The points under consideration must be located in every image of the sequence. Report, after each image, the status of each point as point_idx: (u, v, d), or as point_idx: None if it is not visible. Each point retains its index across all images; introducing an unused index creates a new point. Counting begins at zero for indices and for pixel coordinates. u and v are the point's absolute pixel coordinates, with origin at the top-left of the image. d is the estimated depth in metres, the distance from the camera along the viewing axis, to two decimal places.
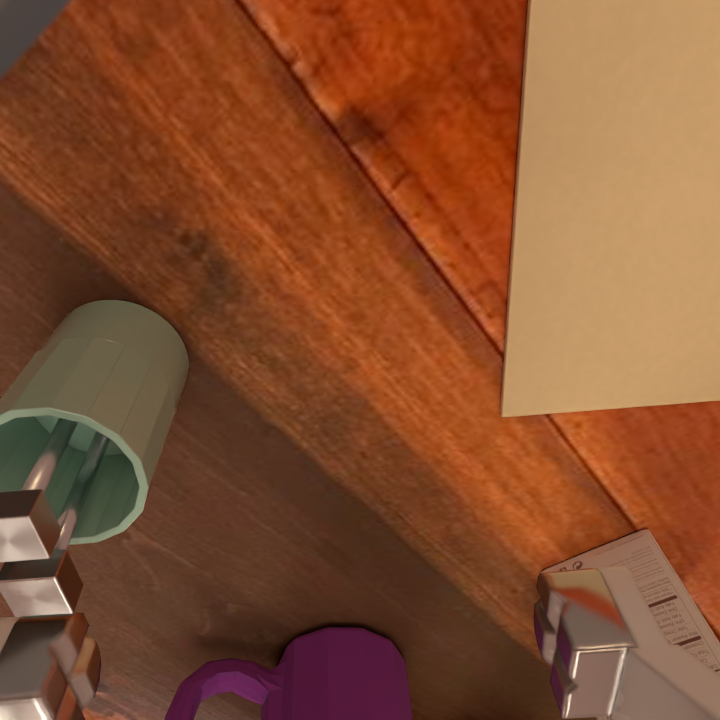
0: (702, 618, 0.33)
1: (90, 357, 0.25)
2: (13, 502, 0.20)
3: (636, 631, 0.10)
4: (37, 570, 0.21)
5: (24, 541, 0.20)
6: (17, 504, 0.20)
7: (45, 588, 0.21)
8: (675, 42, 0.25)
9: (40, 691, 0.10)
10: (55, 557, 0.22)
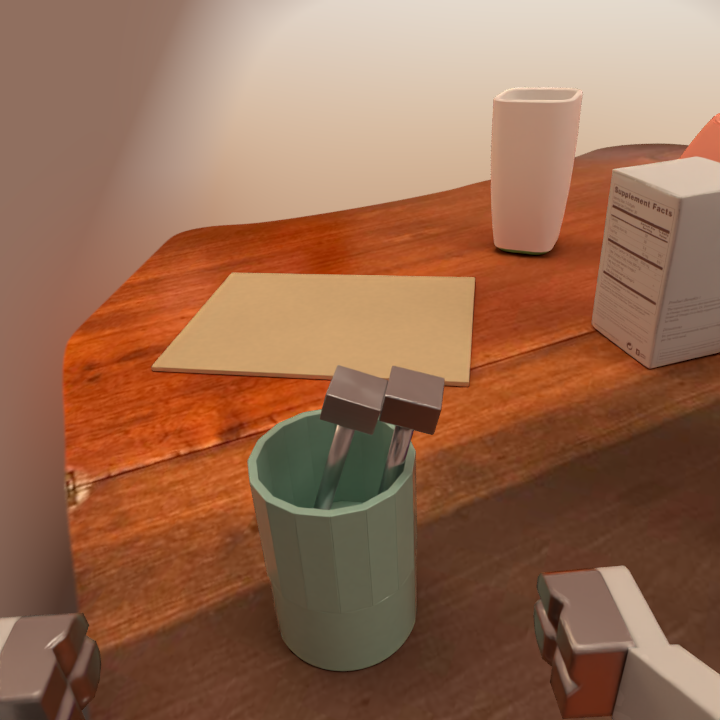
0: (602, 247, 0.48)
1: None
2: None
3: (636, 631, 0.10)
4: None
5: (362, 380, 0.23)
6: None
7: (404, 374, 0.23)
8: (255, 332, 0.53)
9: (40, 691, 0.10)
10: None
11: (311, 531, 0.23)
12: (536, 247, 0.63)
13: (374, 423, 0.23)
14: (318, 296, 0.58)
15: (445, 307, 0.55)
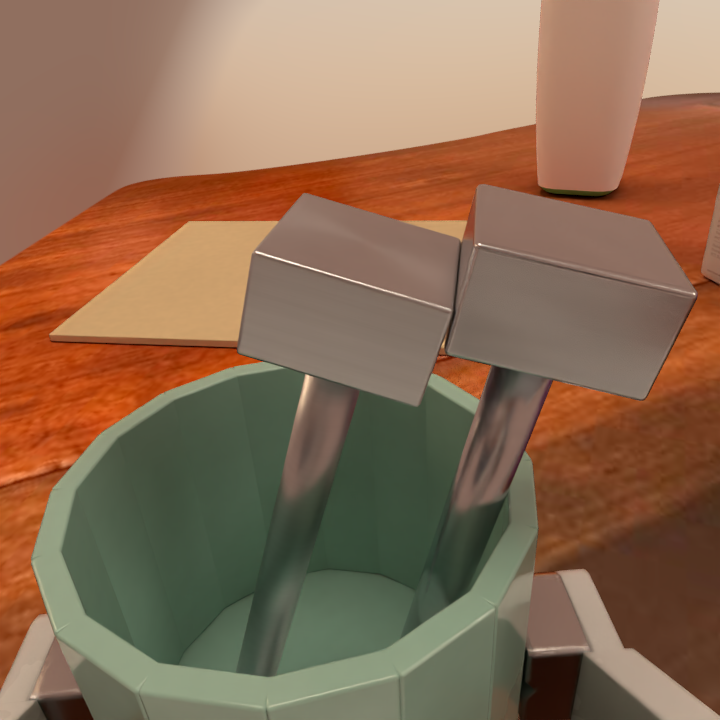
0: None
1: None
2: None
3: (591, 635, 0.10)
4: (468, 230, 0.07)
5: (382, 230, 0.07)
6: None
7: (523, 203, 0.07)
8: (209, 289, 0.36)
9: None
10: None
11: None
12: (597, 184, 0.47)
13: (428, 362, 0.06)
14: None
15: None
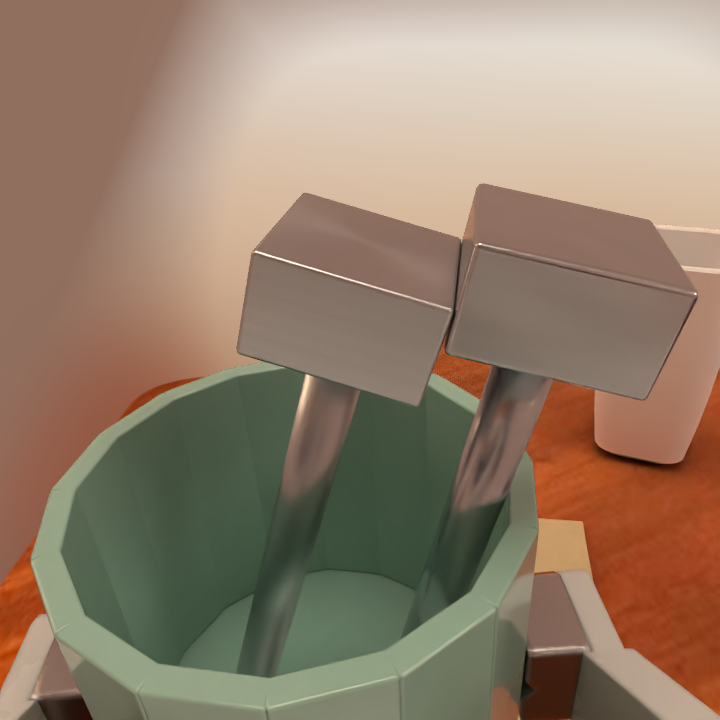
0: None
1: None
2: None
3: (592, 634, 0.10)
4: (468, 229, 0.07)
5: (383, 230, 0.07)
6: None
7: (523, 202, 0.07)
8: None
9: None
10: None
11: None
12: (664, 457, 0.43)
13: (428, 362, 0.06)
14: None
15: None
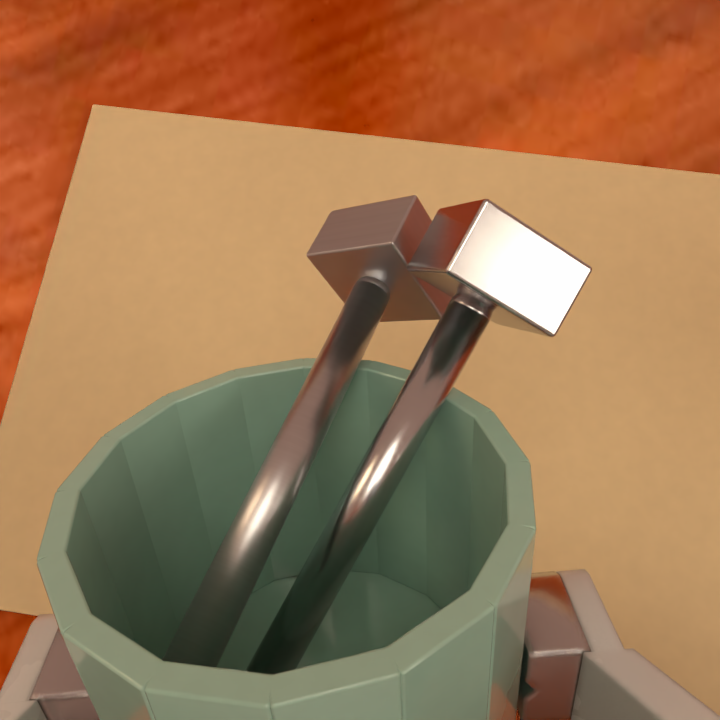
0: None
1: None
2: None
3: (592, 635, 0.10)
4: None
5: None
6: None
7: None
8: None
9: None
10: None
11: None
12: None
13: (401, 219, 0.11)
14: None
15: (667, 337, 0.21)
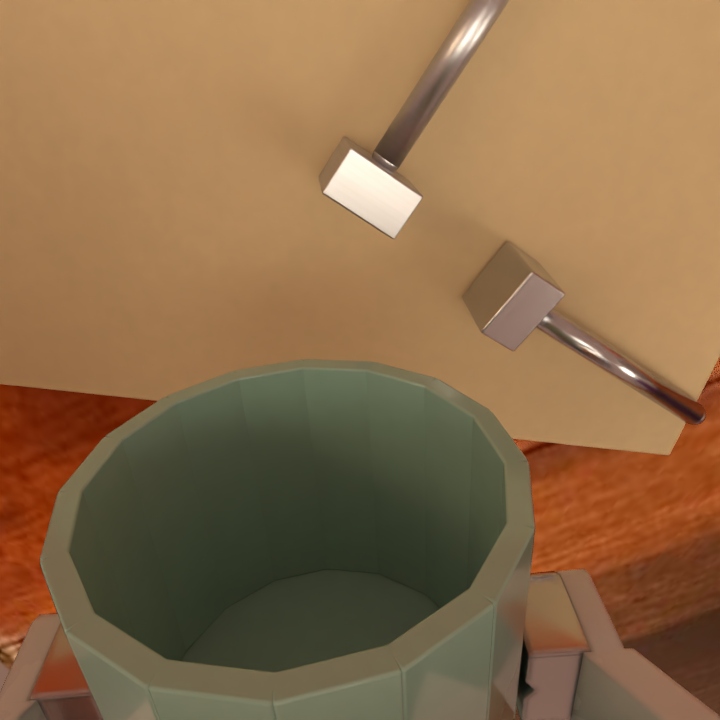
0: None
1: None
2: (384, 199, 0.14)
3: (592, 635, 0.10)
4: None
5: None
6: (387, 207, 0.14)
7: (500, 261, 0.17)
8: (121, 204, 0.16)
9: None
10: None
11: None
12: None
13: (331, 156, 0.16)
14: None
15: None
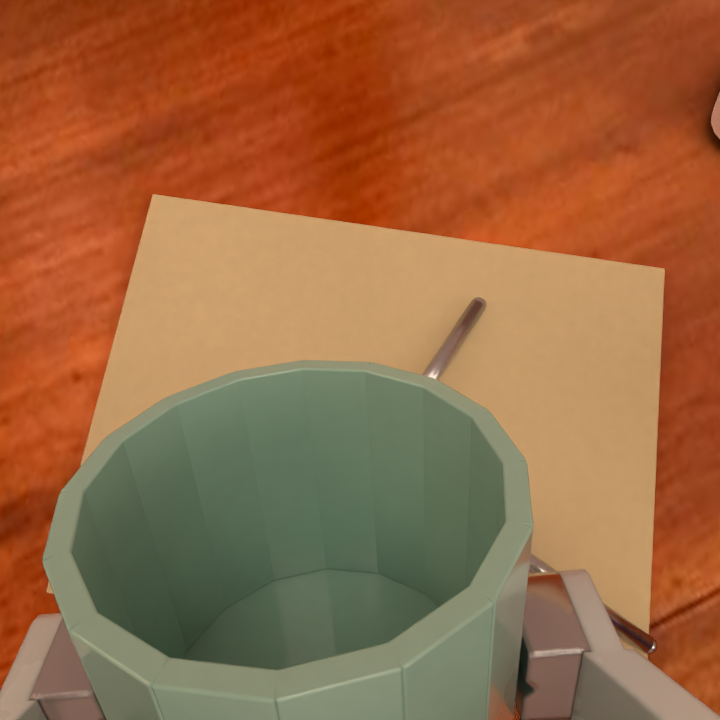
0: None
1: None
2: None
3: (592, 635, 0.10)
4: None
5: None
6: None
7: None
8: None
9: None
10: None
11: None
12: None
13: None
14: (346, 324, 0.28)
15: (604, 397, 0.28)
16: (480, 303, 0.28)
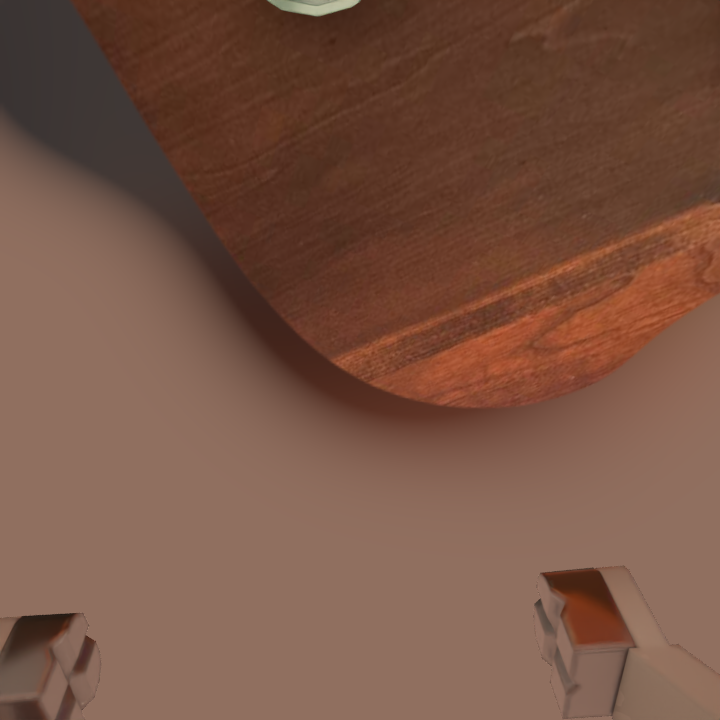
0: None
1: None
2: None
3: (636, 631, 0.10)
4: None
5: None
6: None
7: None
8: None
9: (40, 691, 0.10)
10: None
11: None
12: None
13: None
14: None
15: None
16: None
